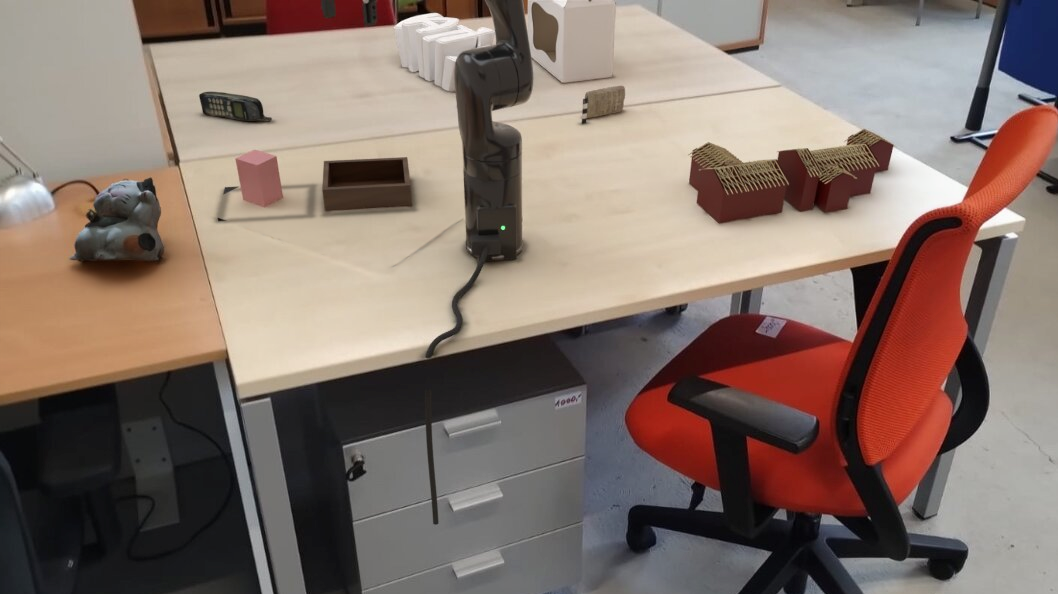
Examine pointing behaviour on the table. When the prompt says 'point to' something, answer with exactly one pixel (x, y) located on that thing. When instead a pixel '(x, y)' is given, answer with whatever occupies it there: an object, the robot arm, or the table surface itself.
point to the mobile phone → (232, 106)
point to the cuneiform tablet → (603, 102)
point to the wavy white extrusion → (437, 45)
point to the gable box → (573, 37)
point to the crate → (366, 184)
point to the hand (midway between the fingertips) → (350, 21)
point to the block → (259, 178)
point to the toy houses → (787, 178)
